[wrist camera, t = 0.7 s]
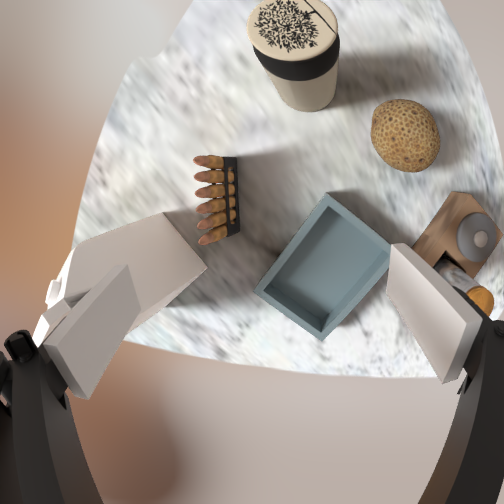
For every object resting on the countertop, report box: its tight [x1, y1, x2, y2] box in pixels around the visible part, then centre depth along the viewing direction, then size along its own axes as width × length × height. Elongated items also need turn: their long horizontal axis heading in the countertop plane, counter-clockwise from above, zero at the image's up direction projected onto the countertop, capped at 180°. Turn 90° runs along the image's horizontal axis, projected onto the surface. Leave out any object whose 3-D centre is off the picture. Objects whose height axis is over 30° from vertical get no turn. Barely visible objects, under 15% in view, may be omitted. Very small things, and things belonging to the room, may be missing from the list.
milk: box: [32, 213, 208, 347], centre depth 34 cm, size 12×12×26 cm
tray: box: [253, 193, 391, 341], centre depth 37 cm, size 16×12×4 cm
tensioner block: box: [411, 192, 503, 279], centre depth 31 cm, size 14×8×8 cm, turn 146°
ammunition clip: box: [193, 155, 240, 245], centre depth 35 cm, size 11×2×12 cm, turn 3°
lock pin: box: [432, 256, 494, 317], centre depth 28 cm, size 4×4×16 cm
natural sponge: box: [371, 99, 440, 172], centre depth 28 cm, size 9×9×10 cm
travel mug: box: [247, 0, 340, 112], centre depth 25 cm, size 8×8×18 cm
